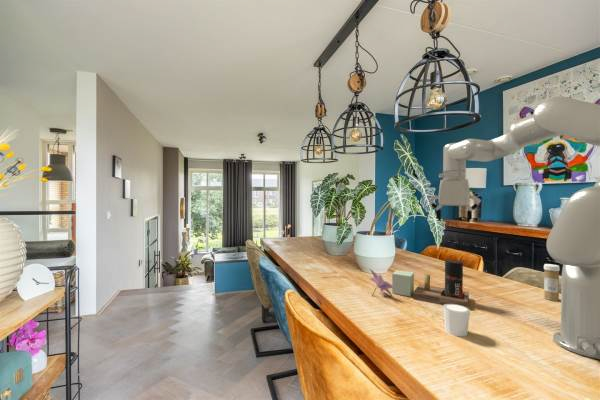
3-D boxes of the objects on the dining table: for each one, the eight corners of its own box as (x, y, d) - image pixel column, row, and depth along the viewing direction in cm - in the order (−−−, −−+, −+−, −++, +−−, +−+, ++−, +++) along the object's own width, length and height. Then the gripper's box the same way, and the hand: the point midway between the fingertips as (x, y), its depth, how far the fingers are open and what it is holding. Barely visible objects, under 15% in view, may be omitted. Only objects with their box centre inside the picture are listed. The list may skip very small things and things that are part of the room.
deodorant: (453, 304, 103) (453, 263, 103) (441, 298, 108) (441, 260, 108) (466, 303, 104) (466, 262, 104) (453, 297, 110) (453, 259, 110)
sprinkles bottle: (560, 300, 108) (561, 265, 108) (557, 302, 106) (557, 266, 106) (545, 296, 112) (546, 263, 112) (541, 298, 110) (542, 264, 110)
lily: (394, 304, 105) (402, 280, 108) (365, 291, 106) (373, 267, 109) (384, 303, 116) (391, 281, 119) (357, 291, 117) (365, 269, 120)
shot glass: (445, 324, 86) (445, 301, 86) (471, 331, 82) (471, 307, 82) (440, 332, 81) (440, 308, 81) (467, 340, 76) (467, 314, 76)
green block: (410, 296, 111) (410, 276, 110) (392, 293, 114) (392, 273, 114) (413, 291, 116) (414, 272, 116) (396, 288, 120) (396, 270, 120)
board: (467, 309, 98) (467, 285, 98) (413, 298, 108) (413, 277, 108) (468, 298, 109) (469, 276, 109) (419, 289, 119) (419, 270, 119)
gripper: (427, 176, 108) (427, 220, 108) (481, 174, 98) (480, 223, 98) (430, 177, 114) (430, 219, 114) (481, 176, 105) (480, 221, 105)
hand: (453, 221), depth 106 cm, fingers open, 9 cm apart
